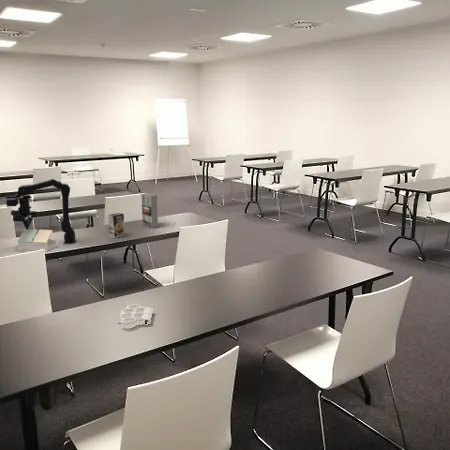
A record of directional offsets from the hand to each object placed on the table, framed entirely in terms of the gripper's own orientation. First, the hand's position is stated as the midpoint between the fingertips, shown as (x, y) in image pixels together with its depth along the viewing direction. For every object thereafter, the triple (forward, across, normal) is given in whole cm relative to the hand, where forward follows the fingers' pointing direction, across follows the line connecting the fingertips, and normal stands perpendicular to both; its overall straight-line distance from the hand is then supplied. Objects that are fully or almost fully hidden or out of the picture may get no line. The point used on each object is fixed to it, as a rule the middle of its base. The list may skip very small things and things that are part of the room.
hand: (27, 229), depth 285 cm
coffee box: (+12, -35, +46) cm, 59 cm away
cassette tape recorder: (+12, -67, +59) cm, 90 cm away
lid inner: (+4, +2, +12) cm, 13 cm away
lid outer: (+4, +2, +2) cm, 5 cm away
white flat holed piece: (+13, +89, +107) cm, 140 cm away
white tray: (+12, +1, +7) cm, 14 cm away
